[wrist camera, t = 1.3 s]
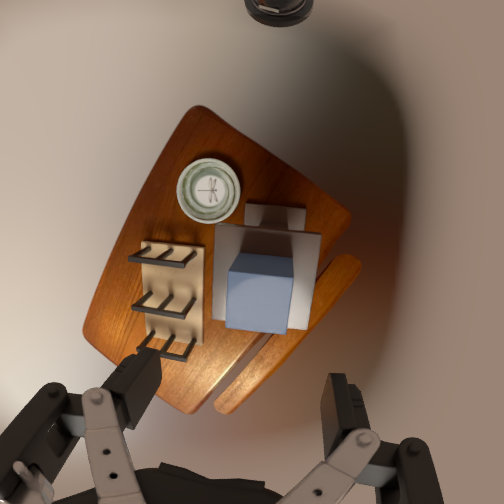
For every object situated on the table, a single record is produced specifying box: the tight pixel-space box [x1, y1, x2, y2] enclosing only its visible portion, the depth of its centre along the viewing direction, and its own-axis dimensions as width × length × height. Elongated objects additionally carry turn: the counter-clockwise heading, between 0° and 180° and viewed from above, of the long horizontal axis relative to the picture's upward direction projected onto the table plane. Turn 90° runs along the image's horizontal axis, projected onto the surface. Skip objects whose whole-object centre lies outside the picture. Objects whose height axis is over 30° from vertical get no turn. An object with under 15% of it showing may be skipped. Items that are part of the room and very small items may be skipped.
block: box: [225, 253, 294, 335], centre depth 23 cm, size 5×5×5 cm
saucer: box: [177, 158, 240, 224], centre depth 43 cm, size 10×10×2 cm
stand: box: [212, 203, 322, 330], centre depth 35 cm, size 9×9×20 cm
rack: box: [128, 241, 205, 362], centre depth 46 cm, size 18×11×7 cm, turn 176°
